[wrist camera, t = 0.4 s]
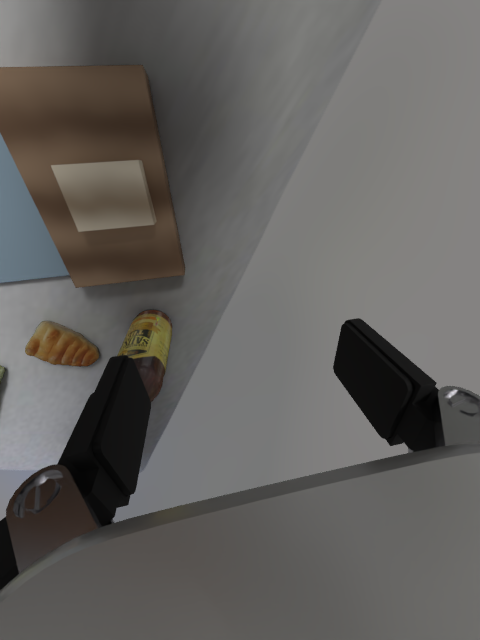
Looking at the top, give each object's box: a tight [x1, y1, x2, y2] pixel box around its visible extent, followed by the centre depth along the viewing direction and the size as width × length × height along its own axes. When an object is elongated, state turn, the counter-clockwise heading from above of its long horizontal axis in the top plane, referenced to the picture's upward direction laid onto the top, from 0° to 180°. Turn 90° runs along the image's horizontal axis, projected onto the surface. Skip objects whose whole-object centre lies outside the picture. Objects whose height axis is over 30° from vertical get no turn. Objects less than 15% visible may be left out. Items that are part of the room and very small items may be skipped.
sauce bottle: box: [118, 310, 172, 402], centre depth 30 cm, size 7×6×20 cm
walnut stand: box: [0, 65, 185, 288], centre depth 27 cm, size 20×14×3 cm
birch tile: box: [51, 160, 156, 232], centre depth 25 cm, size 6×8×2 cm
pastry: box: [25, 321, 99, 366], centre depth 36 cm, size 9×7×4 cm
